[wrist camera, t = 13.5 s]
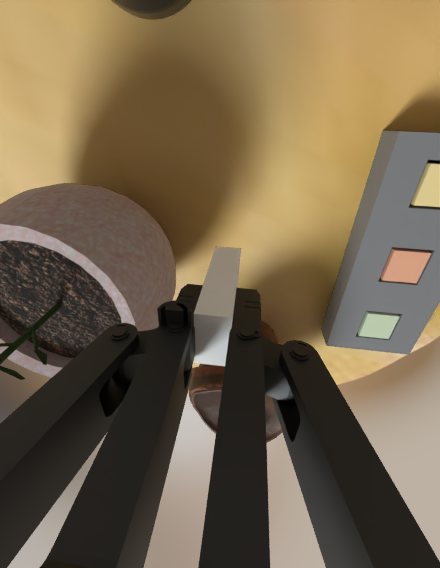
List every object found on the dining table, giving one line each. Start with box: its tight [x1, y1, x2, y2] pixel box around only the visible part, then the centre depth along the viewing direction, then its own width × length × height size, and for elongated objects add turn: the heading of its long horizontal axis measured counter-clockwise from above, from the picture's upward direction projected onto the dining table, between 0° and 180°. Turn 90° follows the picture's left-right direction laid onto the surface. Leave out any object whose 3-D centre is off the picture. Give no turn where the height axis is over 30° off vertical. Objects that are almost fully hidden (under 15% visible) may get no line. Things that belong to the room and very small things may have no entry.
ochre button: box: [410, 161, 440, 207], centre depth 33 cm, size 5×5×4 cm
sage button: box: [357, 311, 400, 339], centre depth 45 cm, size 5×5×4 cm
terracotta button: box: [380, 247, 431, 283], centre depth 39 cm, size 5×5×4 cm
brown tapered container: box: [189, 321, 282, 443], centre depth 47 cm, size 18×20×18 cm
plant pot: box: [0, 183, 176, 380], centre depth 33 cm, size 24×24×30 cm
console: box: [321, 130, 440, 354], centre depth 39 cm, size 33×14×4 cm, turn 178°
